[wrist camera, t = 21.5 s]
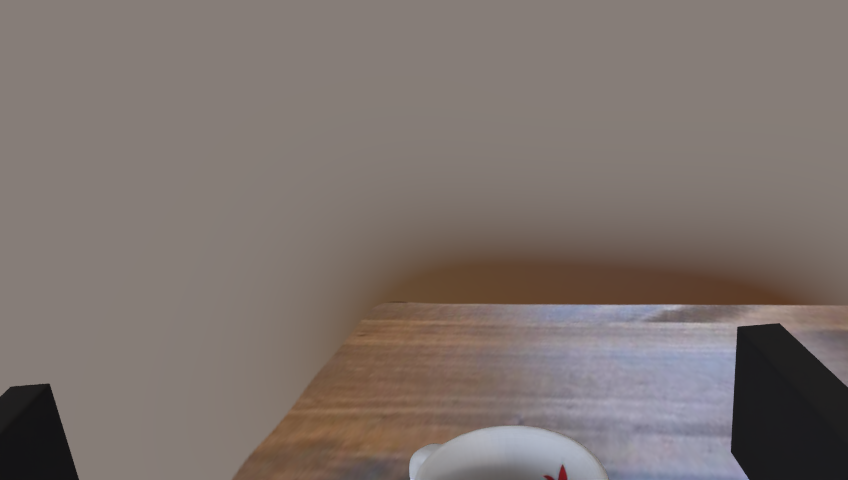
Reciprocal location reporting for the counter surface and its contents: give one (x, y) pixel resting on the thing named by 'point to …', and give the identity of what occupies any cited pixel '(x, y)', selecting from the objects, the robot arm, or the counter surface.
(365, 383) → the counter surface
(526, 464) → the cup
